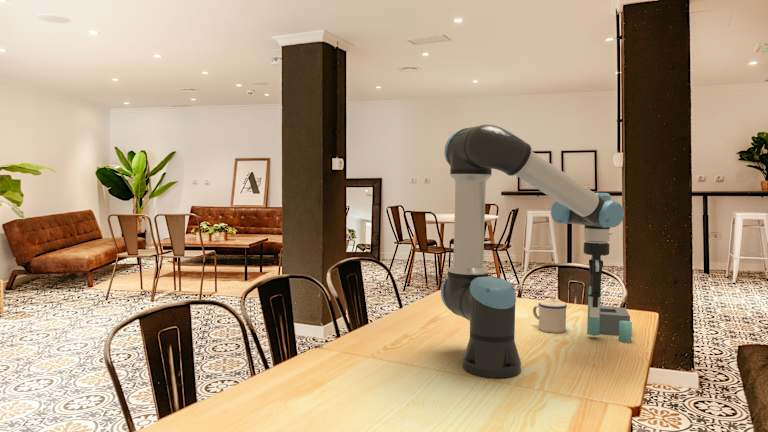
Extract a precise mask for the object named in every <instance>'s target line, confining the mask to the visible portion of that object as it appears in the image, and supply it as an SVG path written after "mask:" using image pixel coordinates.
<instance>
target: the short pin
mask: <svg viewBox="0 0 768 432" xmlns="http://www.w3.org/2000/svg"><path fill="white" fill-rule="evenodd" d="M632 328H633V322H632V321H631V320H630V321H624V320H622V321H619V335H618V341H619V342H622V343H626V342H627V344H628V342H629V343H632V335H633V333H632V332H633V331H632V330H633V329H632Z"/></svg>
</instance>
